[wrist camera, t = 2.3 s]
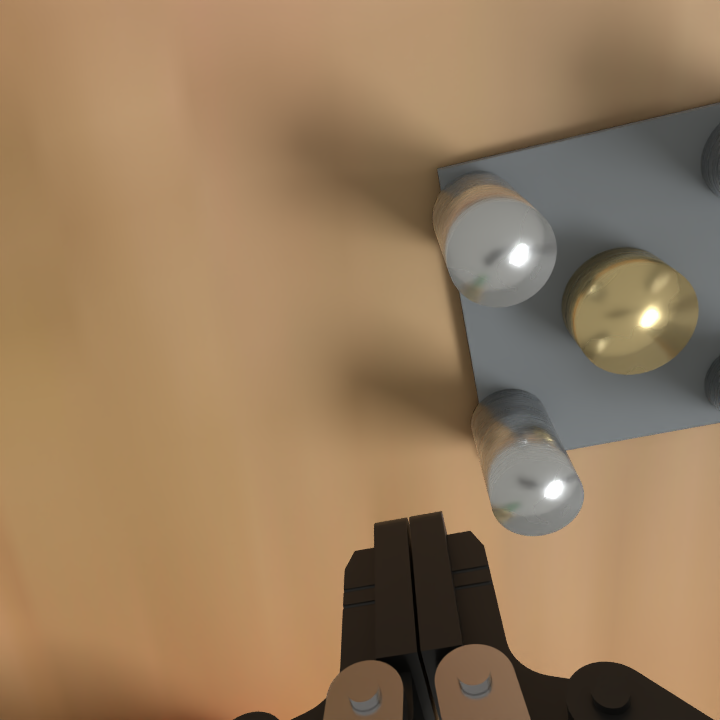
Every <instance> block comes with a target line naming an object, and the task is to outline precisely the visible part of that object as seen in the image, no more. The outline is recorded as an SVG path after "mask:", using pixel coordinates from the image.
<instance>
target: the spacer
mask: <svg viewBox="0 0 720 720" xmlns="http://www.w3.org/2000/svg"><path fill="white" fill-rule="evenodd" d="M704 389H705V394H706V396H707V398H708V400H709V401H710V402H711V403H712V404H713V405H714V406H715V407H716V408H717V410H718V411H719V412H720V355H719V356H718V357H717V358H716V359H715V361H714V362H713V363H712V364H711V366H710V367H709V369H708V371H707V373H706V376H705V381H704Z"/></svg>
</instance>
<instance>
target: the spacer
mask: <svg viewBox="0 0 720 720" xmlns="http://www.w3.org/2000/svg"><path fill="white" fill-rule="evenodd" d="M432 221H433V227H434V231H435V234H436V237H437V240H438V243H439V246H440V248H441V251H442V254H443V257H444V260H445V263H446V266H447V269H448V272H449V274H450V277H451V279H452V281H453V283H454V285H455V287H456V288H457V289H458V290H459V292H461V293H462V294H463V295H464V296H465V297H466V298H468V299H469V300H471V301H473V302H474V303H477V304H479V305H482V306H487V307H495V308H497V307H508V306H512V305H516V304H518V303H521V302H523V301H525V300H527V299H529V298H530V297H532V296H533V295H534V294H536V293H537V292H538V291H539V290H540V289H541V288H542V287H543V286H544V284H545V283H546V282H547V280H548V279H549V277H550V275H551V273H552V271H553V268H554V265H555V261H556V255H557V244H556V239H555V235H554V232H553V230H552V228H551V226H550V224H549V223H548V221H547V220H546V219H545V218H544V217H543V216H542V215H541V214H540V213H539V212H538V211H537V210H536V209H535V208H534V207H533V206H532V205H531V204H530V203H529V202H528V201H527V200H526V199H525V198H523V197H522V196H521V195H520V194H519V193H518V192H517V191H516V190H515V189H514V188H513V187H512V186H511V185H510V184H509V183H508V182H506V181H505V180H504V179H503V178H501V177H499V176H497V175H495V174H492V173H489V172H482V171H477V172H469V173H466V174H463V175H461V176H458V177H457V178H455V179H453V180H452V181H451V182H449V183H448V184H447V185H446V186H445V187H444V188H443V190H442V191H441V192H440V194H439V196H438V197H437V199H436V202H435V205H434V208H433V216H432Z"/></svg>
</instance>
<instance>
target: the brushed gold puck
mask: <svg viewBox="0 0 720 720" xmlns="http://www.w3.org/2000/svg"><path fill="white" fill-rule="evenodd" d="M561 310H562V317H563V321H564V324H565V326H566V328H567V330H568V331H569V333H570V334H571V336H572V337H573V339H574V340H575V341H576V343H577V344H578V346H579V347H580V348H581V350H582V351H583V353H584V354H585V355H586V357H587V358H588V359H589V360H590V361H591V362H592V363H593V364H595V365H596V366H597V367H599V368H601V369H603V370H605V371H608V372H611V373H615V374H622V375H633V374H641V373H645V372H648V371H651V370H654V369H656V368H658V367H660V366H662V365H664V364H666V363H667V362H669V361H670V360H672V359H673V358H674V357H675V356H676V355H678V354H679V353H680V352H681V351H682V349H683V348H684V347H685V346H686V345H687V343H688V342H689V340H690V338H691V337H692V335H693V333H694V330H695V327H696V325H697V320H698V312H699V307H698V300H697V296H696V293H695V291H694V289H693V287H692V285H691V284H690V282H689V281H688V280H687V279H686V278H685V277H684V276H683V275H681V274H680V273H679V272H678V271H676V270H675V269H673V268H672V267H670V266H669V265H668V264H666V263H665V262H663V261H662V260H661V259H659V258H658V257H656V256H655V255H653V254H651V253H650V252H647V251H645V250H642V249H638V248H631V247H621V248H614V249H610V250H606V251H604V252H601V253H599V254H597V255H595V256H593V257H591V258H590V259H589V260H587V261H586V262H584V263H583V264H582V265H581V266H580V267H579V268H578V269H577V270H576V271H575V272H574V274H573V275H572V277H571V278H570V280H569V281H568V283H567V285H566V288H565V290H564V293H563V297H562V304H561Z"/></svg>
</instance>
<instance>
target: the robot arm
mask: <svg viewBox="0 0 720 720" xmlns="http://www.w3.org/2000/svg"><path fill="white" fill-rule="evenodd" d="M409 523H410V525H409ZM343 607H344V609H343V619H342V641H341V663H340V673H339V674H338V675H337V676H336V678H335V679H334V680H333V682H332V683H331V685H330V687H329V690H328V693H327V697H326V699H325V700H324V701H322V702H321V703H320V704H319V705H318V706H316V707H315V708H313V709H312V710H310V711H308V712H306V713H304V714H302V715H300V716H298V717H296V718H294V719H291V720H713V719H712V718H710V717H708V716H707V715H705V714H704V713H702V712H701V711H699V710H697V709H696V708H694V707H693V706H691V705H689V704H688V703H686V702H685V701H683V700H681V699H680V698H678V697H677V696H675V695H674V694H672V693H670V692H669V691H667V690H666V689H664V688H662V687H661V686H659V685H658V684H656V683H654V682H653V681H651V680H650V679H648V678H647V677H645V676H643V675H642V674H640V673H639V672H637V671H635V670H634V669H632V668H630V667H628V666H625V665H622V664H619V663H614V662H596V663H591V664H588V665H586V666H584V667H582V668H580V669H579V670H577V671H576V672H575V673H574V674H573V675H572V677H571V678H570V679H567V678H560V677H554V676H548V675H543V674H540V673H537V672H534V671H532V670H530V669H528V668H527V667H525V666H524V665H522V664H521V663H520V662H519V661H518V660H517V659H516V658H515V657H514V656H513V654H512V653H511V651H510V649H509V647H508V644H507V641H506V637H505V633H504V629H503V624H502V620H501V616H500V612H499V608H498V603H497V599H496V595H495V591H494V586H493V582H492V578H491V574H490V569H489V565H488V561H487V557H486V552H485V548H484V545H483V544H482V543H481V542H480V541H479V540H478V539H477V538H476V537H475V535H474V534H473V533H472V532H471V531H467V532H461V533H455V534H449V535H447V532H446V527H445V523H444V518H443V514H442V511H440V512H434V513H429V514H423V515H417V516H412V517H409V521H408V519H407V518H401V519H396V520H390V521H384V522H379V523H375V524H374V548H370V549H364V550H358V551H355V552H354V554H353V555H352V557H351V559H350V561H349V563H348V565H347V567H346V568H345V575H344V597H343ZM234 720H279V719H277V718H276V717H275V716H273V715H271V714H269V713H266V712H251V713H247V714H244V715H241V716H239V717H237V718H235V719H234Z"/></svg>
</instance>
